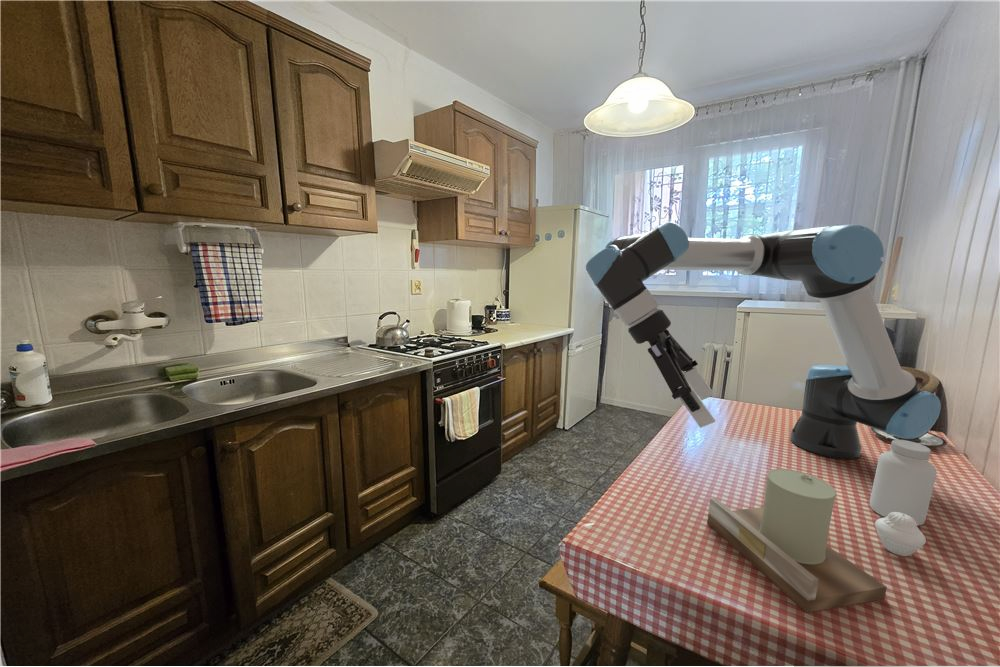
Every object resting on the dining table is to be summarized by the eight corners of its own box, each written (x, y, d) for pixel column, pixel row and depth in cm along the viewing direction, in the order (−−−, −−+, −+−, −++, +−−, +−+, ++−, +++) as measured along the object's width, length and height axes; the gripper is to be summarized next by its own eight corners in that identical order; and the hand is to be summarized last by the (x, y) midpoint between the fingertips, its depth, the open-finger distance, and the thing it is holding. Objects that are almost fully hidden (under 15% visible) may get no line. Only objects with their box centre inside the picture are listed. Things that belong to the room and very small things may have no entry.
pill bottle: (916, 532, 73) (932, 458, 70) (861, 508, 80) (874, 440, 77) (932, 520, 76) (947, 449, 74) (878, 498, 83) (891, 433, 81)
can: (832, 548, 65) (843, 482, 63) (816, 574, 60) (829, 503, 58) (768, 520, 72) (777, 460, 70) (749, 541, 67) (758, 477, 65)
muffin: (925, 554, 67) (933, 517, 66) (916, 568, 64) (924, 530, 63) (877, 533, 72) (884, 499, 71) (866, 545, 69) (873, 509, 68)
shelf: (769, 515, 77) (772, 491, 76) (884, 598, 58) (890, 567, 57) (706, 522, 74) (709, 498, 74) (804, 613, 55) (810, 581, 54)
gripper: (636, 317, 89) (691, 395, 87) (613, 342, 67) (686, 446, 65) (666, 298, 85) (724, 380, 83) (651, 318, 63) (730, 429, 61)
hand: (707, 409), depth 74 cm, fingers open, 13 cm apart
